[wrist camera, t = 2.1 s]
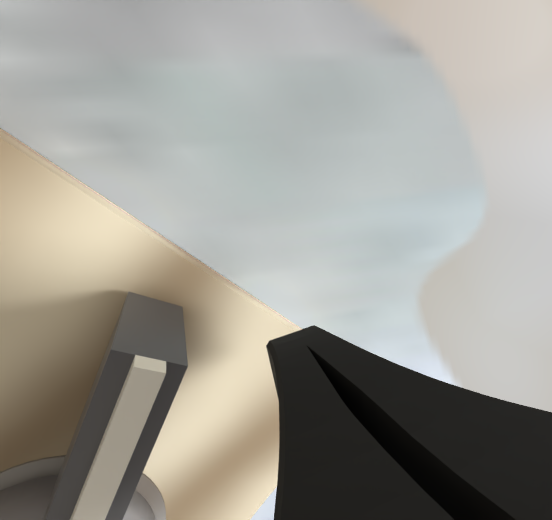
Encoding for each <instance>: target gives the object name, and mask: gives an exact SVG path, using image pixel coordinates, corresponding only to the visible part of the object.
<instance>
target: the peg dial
mask: <svg viewBox="0 0 552 520" xmlns="http://www.w3.org/2000/svg"><path fill="white" fill-rule="evenodd" d="M187 368H188V360H187V349H186V338H185V328H184V317H183V307H182V306H178V305H175V304H171V303H168V302H164V301H161V300H157V299H154V298H150V297H147V296H143V295H139V294H136V293H132V292H129V291H128V294H127V297H126V299H125V302H124V304H123V307H122V310H121V312H120V315H119V317H118V320H117V323H116V325H115V328H114V331H113V333H112V336H111V338H110V341H109V344H108V346H107V349H106V351H105V354H104V357H103V359H102V362H101V365H100V367H99V370H98V372H97V375H96V378H95V380H94V383H93V385H92V388H91V391H90V393H89V396H88V399H87V401H86V404H85V406H84V409H83V412H82V414H81V417H80V419H79V422H78V425H77V427H76V430H75V433H74V435H73V438H72V440H71V443H70V446H69V448H68V451H67V454H66V456H65V459H64V461H63V464H62V467H61V469H60V472H59V474H58V475H52V476H46V477H40V478H36V479H32V480H28V481H25V482H22V483H19V484H16V485H13V486H10V487H8V488H6V489H4V490H1V491H0V520H156V518H155V515H154V512H153V510H152V508H151V506H150V504H149V503H148V501H147V500H146V499H145V498H144V497H143V496H142V495H141V494H140V493H139V492H137V491H136V490H135V489H136V487H137V485H138V482H139V480H140V478H141V475H142V473H143V471H144V468H145V466H146V464H147V461H148V459H149V457H150V454H151V452H152V450H153V447H154V445H155V443H156V440H157V438H158V435H159V433H160V431H161V428H162V426H163V424H164V421H165V419H166V417H167V414H168V412H169V410H170V407H171V405H172V403H173V400H174V398H175V396H176V393H177V391H178V389H179V386H180V384H181V382H182V379H183V377H184V375H185V372H186V370H187Z"/></svg>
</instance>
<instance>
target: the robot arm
mask: <svg viewBox="0 0 552 520" xmlns="http://www.w3.org/2000/svg"><path fill="white" fill-rule="evenodd" d="M266 348H267V352H268V356H269V361H270V365H271V369H272V374H273V378H274V383H275V387H276V391H277V396H278V400H279V463H278V480H277V492H276V503H275V513H274V520H552V413H551V412H548V411H543V410H539V409H535V408H531V407H527V406H523V405H519V404H515V403H511V402H507V401H504V400H500V399H497V398H493V397H489V396H486V395H482V394H480V393H477V392H473V391H470V390H467V389H464V388H461V387H458V386H454V385H451V384H448V383H445V382H442V381H439V380H437V379H434V378H431V377H428V376H426V375H423V374H421V373H418V372H415V371H413V370H410V369H408V368H405V367H403V366H400V365H398V364H395V363H393V362H391V361H388V360H386V359H384V358H381V357H379V356H377V355H375V354H372V353H370V352H368V351H366V350H364V349H362V348H360V347H357V346H355V345H353V344H351V343H349V342H347V341H345V340H343V339H341V338H339V337H337V336H335V335H333V334H331V333H329V332H327V331H325V330H323V329H321V328H319V327H316V326H311V327H308V328H305V329H302V330H299V331H296V332H293V333H290V334H287V335H284V336H281V337H278V338H275V339H272V340H270V341H269V342H268V344H267V345H266Z"/></svg>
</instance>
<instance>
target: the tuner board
mask: <svg viewBox="0 0 552 520" xmlns="http://www.w3.org/2000/svg"><path fill="white" fill-rule="evenodd" d="M128 291H129V292H132V293H136V294H139V295H143V296H147V297H150V298H154V299H157V300H161V301H164V302H168V303H171V304H175V305H178V306H182V307H183V317H184V328H185V338H186V349H187V360H188V368H187V370H186V372H185V375H184V377H183V379H182V382H181V384H180V386H179V389H178V391H177V393H176V396H175V398H174V400H173V403H172V405H171V407H170V410H169V412H168V414H167V417H166V419H165V421H164V424H163V426H162V428H161V431H160V433H159V435H158V438H157V440H156V443H155V445H154V447H153V450H152V452H151V454H150V457H149V459H148V461H147V464H146V466H145V468H144V471H143V473H142V475H141V478H140V480H139V482H138V485H137V487H136V489H135V490H136V491H137V492H139V493H140V494H141V495H142V496H143V497H144V498H145V499H146V500H147V501H148V503H149V504H150V506H151V508H152V510H153V512H154V515H155V518H156V520H250V519H251V518H252V516H253V515H254V514H255V513H256V511H257V510H258V509H259V508H260V506H261V505H262V504H263V503H264V501H265V500H266V499H267V498H268V497H269V495H270V494H271V493H272V492H273V490H274V489H275V488H276V487H277V480H278V463H279V400H278V396H277V391H276V387H275V383H274V378H273V374H272V369H271V365H270V361H269V356H268V352H267V348H266V345H267V344H268V342H269V341H270V340H272V339H275V338H278V337H281V336H284V335H287V334H290V333H293V332H296V331H299V330H302V329H301V328H300V327H298V326H297V325H295V324H294V323H292V322H291V321H289V320H288V319H286V318H285V317H283V316H282V315H280V314H279V313H277V312H276V311H274V310H273V309H271V308H270V307H268V306H267V305H265V304H264V303H262V302H261V301H259V300H258V299H256V298H255V297H253V296H252V295H250V294H249V293H247V292H246V291H244V290H243V289H241V288H240V287H238V286H237V285H235V284H234V283H232V282H231V281H229V280H228V279H226V278H225V277H223V276H222V275H220V274H219V273H217V272H216V271H214V270H213V269H211V268H210V267H208V266H207V265H205V264H204V263H202V262H201V261H199V260H198V259H196V258H195V257H193V256H192V255H190V254H189V253H187V252H186V251H184V250H183V249H181V248H180V247H178V246H177V245H175V244H174V243H172V242H171V241H169V240H168V239H166V238H165V237H163V236H162V235H160V234H159V233H157V232H156V231H154V230H153V229H151V228H150V227H148V226H147V225H145V224H144V223H142V222H141V221H139V220H138V219H136V218H134V217H133V216H131V215H130V214H128V213H127V212H125V211H124V210H122V209H121V208H119V207H118V206H116V205H115V204H113V203H112V202H110V201H109V200H107V199H106V198H104V197H103V196H101V195H100V194H98V193H97V192H95V191H94V190H92V189H91V188H89V187H88V186H86V185H85V184H83V183H82V182H80V181H79V180H77V179H76V178H74V177H73V176H71V175H70V174H68V173H67V172H65V171H64V170H62V169H61V168H59V167H58V166H56V165H55V164H53V163H52V162H50V161H49V160H47V159H46V158H44V157H43V156H41V155H40V154H38V153H37V152H35V151H34V150H32V149H31V148H29V147H28V146H26V145H25V144H23V143H22V142H20V141H19V140H17V139H16V138H14V137H13V136H11V135H10V134H8V133H7V132H5V131H4V130H2V129H1V128H0V491H1V490H4V489H6V488H8V487H10V486H13V485H16V484H19V483H22V482H25V481H28V480H32V479H36V478H40V477H46V476H52V475H58V474H59V472H60V469H61V467H62V464H63V461H64V459H65V456H66V454H67V451H68V448H69V446H70V443H71V440H72V438H73V435H74V433H75V430H76V427H77V425H78V422H79V419H80V417H81V414H82V412H83V409H84V406H85V404H86V401H87V399H88V396H89V393H90V391H91V388H92V385H93V383H94V380H95V378H96V375H97V372H98V370H99V367H100V365H101V362H102V359H103V357H104V354H105V351H106V349H107V346H108V344H109V341H110V338H111V336H112V333H113V331H114V328H115V325H116V323H117V320H118V317H119V315H120V312H121V310H122V307H123V304H124V302H125V299H126V297H127V294H128Z"/></svg>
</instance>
